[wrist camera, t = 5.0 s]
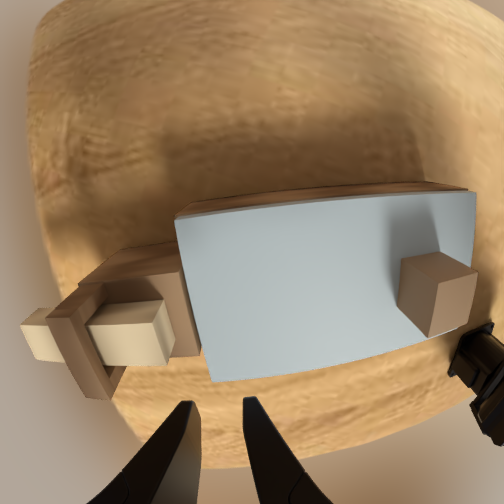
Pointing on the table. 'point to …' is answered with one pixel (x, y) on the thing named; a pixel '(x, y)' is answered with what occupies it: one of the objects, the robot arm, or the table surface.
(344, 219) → the lid
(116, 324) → the sliding latch bolt
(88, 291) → the brown wooden open box
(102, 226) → the table surface
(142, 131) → the table surface
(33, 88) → the table surface
